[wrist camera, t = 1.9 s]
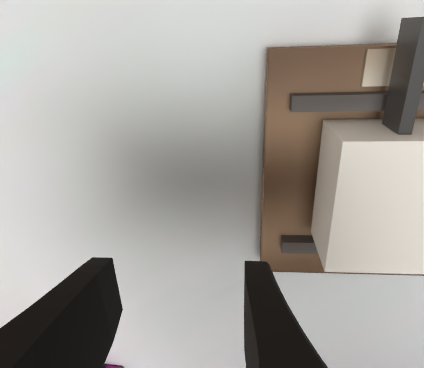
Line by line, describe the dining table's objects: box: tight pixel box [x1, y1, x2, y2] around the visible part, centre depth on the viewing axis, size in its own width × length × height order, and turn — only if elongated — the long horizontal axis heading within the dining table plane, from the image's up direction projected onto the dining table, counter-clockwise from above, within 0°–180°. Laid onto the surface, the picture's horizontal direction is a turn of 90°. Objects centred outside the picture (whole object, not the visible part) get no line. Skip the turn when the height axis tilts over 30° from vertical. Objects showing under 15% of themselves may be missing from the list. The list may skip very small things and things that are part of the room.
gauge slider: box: [311, 17, 424, 274], centre depth 14 cm, size 10×7×3 cm
